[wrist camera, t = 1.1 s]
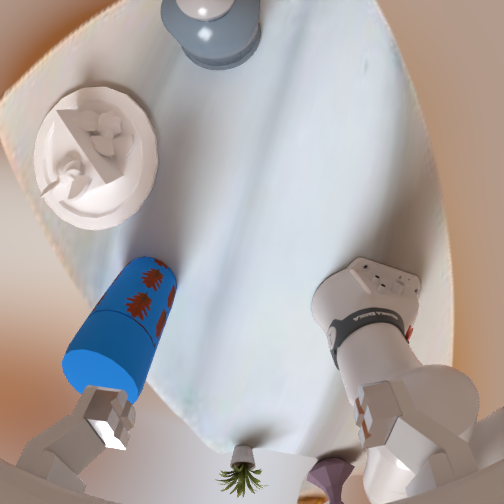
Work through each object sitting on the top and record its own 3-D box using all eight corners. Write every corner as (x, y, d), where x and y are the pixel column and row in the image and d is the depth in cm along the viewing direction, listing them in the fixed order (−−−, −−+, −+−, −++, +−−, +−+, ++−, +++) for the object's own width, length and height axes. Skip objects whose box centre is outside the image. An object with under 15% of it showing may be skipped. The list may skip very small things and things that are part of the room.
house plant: (248, 430, 73) (249, 481, 58) (279, 448, 78) (282, 494, 63) (210, 445, 77) (206, 492, 62) (241, 461, 81) (241, 505, 66)
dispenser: (274, 50, 39) (287, 13, 23) (202, 83, 41) (176, 63, 25) (238, -8, 35) (233, -63, 19) (169, 24, 37) (131, -16, 21)
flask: (298, 461, 82) (304, 513, 63) (348, 447, 79) (360, 499, 61) (311, 477, 88) (317, 523, 69) (355, 464, 85) (366, 510, 67)
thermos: (138, 244, 52) (72, 332, 29) (188, 278, 54) (153, 382, 32) (114, 286, 55) (54, 378, 32) (160, 317, 58) (122, 419, 35)
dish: (176, 208, 50) (158, 232, 39) (60, 240, 52) (28, 265, 41) (140, 65, 40) (112, 53, 30) (25, 120, 42) (-14, 126, 32)
